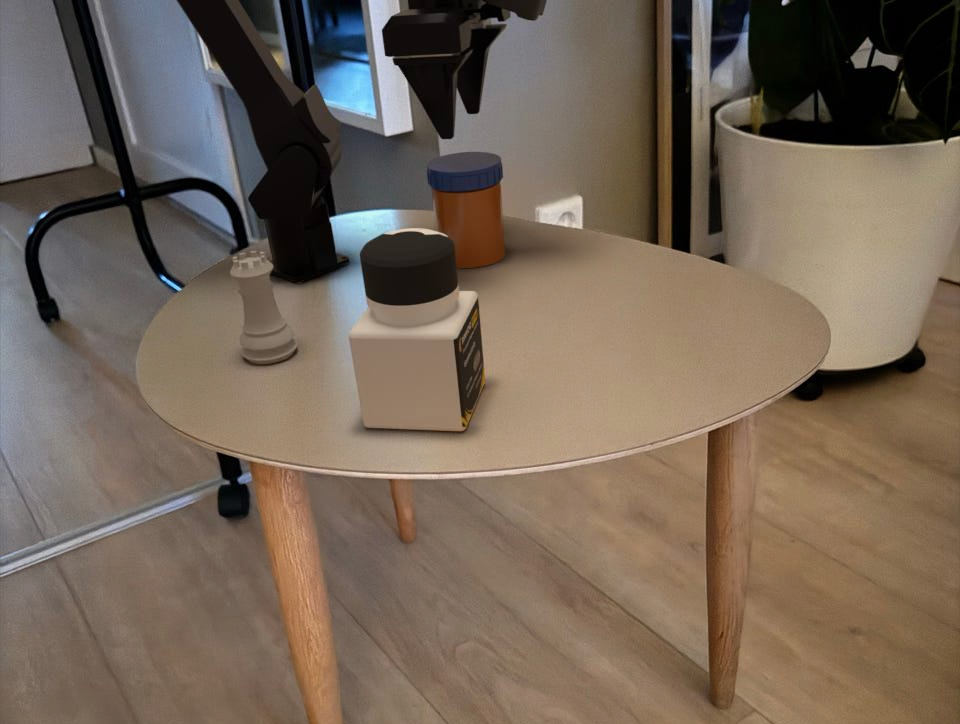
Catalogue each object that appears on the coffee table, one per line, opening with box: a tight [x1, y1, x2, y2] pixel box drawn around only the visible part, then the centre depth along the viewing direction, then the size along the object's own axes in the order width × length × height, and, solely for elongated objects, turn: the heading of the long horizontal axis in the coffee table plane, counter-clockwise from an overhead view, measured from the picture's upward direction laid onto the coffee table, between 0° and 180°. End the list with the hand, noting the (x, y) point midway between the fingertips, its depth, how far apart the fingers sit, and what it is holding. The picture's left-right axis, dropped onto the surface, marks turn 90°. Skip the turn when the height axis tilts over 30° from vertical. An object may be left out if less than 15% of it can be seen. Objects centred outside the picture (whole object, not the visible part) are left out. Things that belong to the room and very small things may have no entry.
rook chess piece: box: [229, 250, 298, 365], centre depth 71 cm, size 4×4×8 cm
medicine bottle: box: [348, 227, 486, 432], centre depth 61 cm, size 7×7×12 cm
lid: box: [426, 151, 504, 192], centre depth 84 cm, size 7×7×2 cm
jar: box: [430, 180, 506, 269], centre depth 86 cm, size 6×6×8 cm
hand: (461, 125), depth 81 cm, fingers open, 9 cm apart
